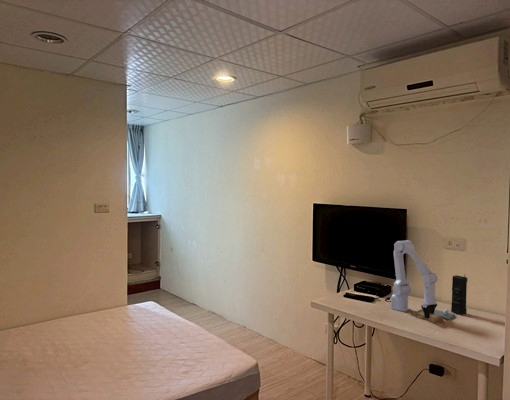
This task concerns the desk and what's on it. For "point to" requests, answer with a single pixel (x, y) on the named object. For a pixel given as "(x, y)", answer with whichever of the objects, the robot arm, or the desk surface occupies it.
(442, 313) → the peg stand
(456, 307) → the portable radio
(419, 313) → the shelf board
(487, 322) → the desk surface
